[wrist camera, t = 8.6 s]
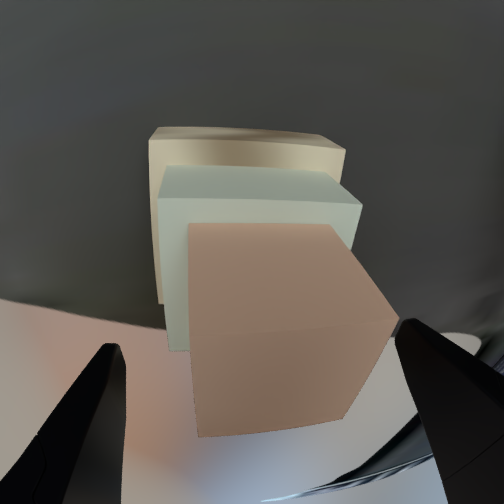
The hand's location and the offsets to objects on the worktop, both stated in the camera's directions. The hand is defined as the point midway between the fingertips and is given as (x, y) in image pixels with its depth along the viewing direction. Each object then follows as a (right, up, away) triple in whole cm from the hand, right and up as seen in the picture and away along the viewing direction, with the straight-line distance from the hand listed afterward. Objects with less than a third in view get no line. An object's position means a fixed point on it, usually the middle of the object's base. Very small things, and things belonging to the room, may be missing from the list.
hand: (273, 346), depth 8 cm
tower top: (-1, +3, +6) cm, 6 cm away
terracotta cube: (0, +2, +2) cm, 3 cm away
